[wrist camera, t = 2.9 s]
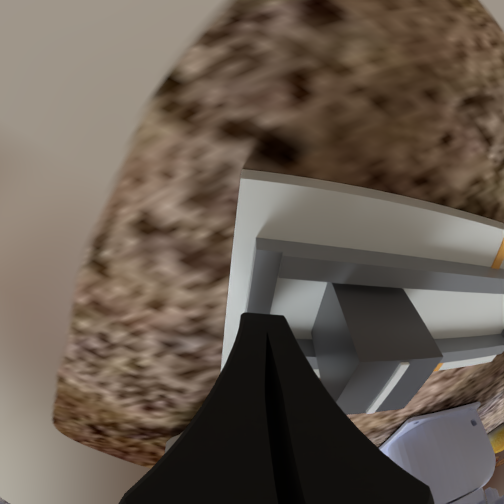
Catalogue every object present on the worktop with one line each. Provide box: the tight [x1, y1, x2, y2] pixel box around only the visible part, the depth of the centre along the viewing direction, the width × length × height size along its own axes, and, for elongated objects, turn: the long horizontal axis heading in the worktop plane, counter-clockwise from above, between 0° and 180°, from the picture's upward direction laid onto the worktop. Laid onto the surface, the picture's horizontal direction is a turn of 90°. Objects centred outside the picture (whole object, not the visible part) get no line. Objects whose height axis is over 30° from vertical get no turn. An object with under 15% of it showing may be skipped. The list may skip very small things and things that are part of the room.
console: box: [221, 169, 504, 378], centre depth 12 cm, size 18×9×2 cm, turn 83°
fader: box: [311, 282, 443, 415], centre depth 9 cm, size 3×3×4 cm
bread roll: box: [487, 423, 504, 453], centre depth 27 cm, size 8×9×4 cm
